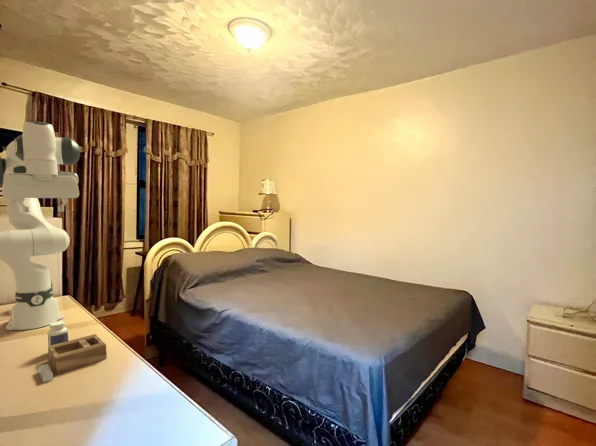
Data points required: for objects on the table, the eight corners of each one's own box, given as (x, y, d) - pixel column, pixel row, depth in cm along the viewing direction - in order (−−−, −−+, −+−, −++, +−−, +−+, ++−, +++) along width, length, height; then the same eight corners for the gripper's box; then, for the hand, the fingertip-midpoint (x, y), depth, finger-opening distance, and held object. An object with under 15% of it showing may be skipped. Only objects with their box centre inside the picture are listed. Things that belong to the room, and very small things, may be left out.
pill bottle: (72, 349, 111) (71, 321, 111) (56, 356, 106) (54, 327, 106) (61, 347, 113) (59, 319, 112) (44, 354, 108) (43, 325, 107)
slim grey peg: (38, 373, 96) (37, 366, 96) (47, 370, 98) (47, 363, 98) (43, 383, 91) (42, 376, 90) (53, 380, 92) (52, 373, 92)
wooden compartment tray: (48, 360, 104) (48, 346, 103) (95, 346, 113) (95, 334, 113) (56, 373, 95) (55, 358, 95) (106, 358, 105) (106, 344, 104)
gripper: (75, 172, 119) (78, 210, 120) (0, 169, 104) (3, 212, 105) (80, 171, 115) (82, 211, 115) (1, 167, 100) (4, 212, 101)
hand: (44, 211), depth 110 cm, fingers open, 8 cm apart
